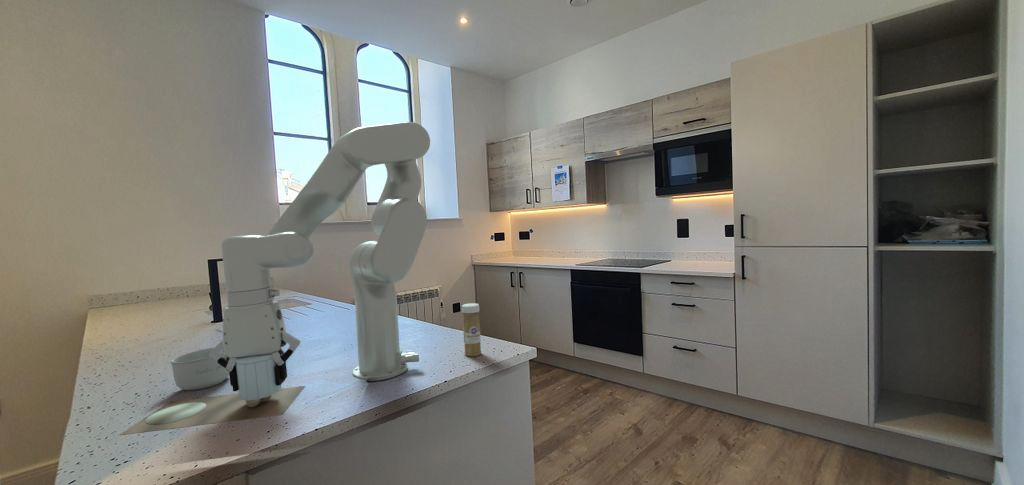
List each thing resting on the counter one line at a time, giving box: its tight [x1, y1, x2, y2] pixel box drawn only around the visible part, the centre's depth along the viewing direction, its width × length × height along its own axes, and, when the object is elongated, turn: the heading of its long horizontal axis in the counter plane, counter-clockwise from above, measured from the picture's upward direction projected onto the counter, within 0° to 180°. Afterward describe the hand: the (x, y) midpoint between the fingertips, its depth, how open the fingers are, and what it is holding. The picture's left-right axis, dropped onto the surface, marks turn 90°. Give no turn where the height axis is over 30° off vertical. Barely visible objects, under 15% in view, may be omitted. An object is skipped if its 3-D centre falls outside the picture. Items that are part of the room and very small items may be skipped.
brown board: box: [119, 385, 306, 436], centre depth 79 cm, size 26×14×3 cm, turn 101°
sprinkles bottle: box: [461, 302, 482, 357], centre depth 107 cm, size 5×5×13 cm
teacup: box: [170, 346, 230, 391], centre depth 95 cm, size 14×11×8 cm
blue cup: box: [236, 354, 282, 401], centre depth 80 cm, size 7×7×8 cm
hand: (260, 385), depth 81 cm, fingers closed on blue cup, 7 cm apart
